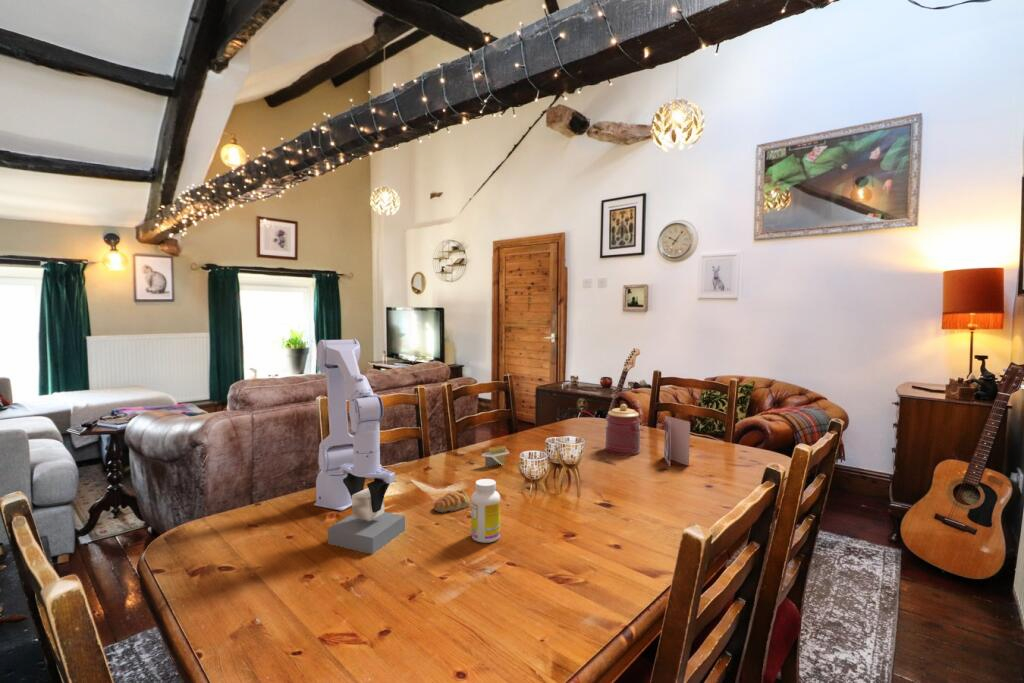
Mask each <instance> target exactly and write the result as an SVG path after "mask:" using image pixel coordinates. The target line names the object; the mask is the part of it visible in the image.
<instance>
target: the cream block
mask: <svg viewBox="0 0 1024 683" xmlns="http://www.w3.org/2000/svg"><path fill="white" fill-rule="evenodd" d="M384 512H385V497H384V498H383V502H382V506H381V510H379V511H377V512H376V513H374V512H373V511H372V505H371V495H370V491H369V489H368V487H367V488H364V490H362V491H360V492H358V493H356V494H353V495H352V506H351V515H352V517H355V518H359V519H363V520H367V521H370V520H372V519H374V518H376V517H378V516H379V515H381V514H383V513H384Z"/></svg>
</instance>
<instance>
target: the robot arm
mask: <svg viewBox="0 0 1024 683" xmlns="http://www.w3.org/2000/svg"><path fill="white" fill-rule="evenodd" d="M316 346H317V347H316V358H317V368H318V371H319V372H321V373H324V375H325V378H326V390H327V392H326V393H327V409H328V410H327V411H328V425H329V426H328V428H329V433H328V436H326V437H325V438H324V439H323V440H322V441H320V443H319V446H318V457H317V458H318V466H319V469H320V472H319V473H318V474H317V476H316V481H315V490H316V491H315V492H316V499H315V500H316V502H315V503H314V506H316V507H321V508H326V509H331V510H337V511H340V512H341V511H344V510H346V509H348V508H350V507H352V495H353V494H356V493H358V492H360V491H362V490H364V489H365V482H366V479H370V480H371V479H372V480H373V481H370V482H368V483H367V484H366V486H367V488H368V489H369V491H370V495H371V505H372V511H373V512H374V513H376V512H377V511H379V510H381V506H382V502H383V498H384V499H385V494H386V493H387V490H388V488H389V486H390V484H392V483H394V482H396V472H393V471H391V470H388V469H387V468H384V467H382V466H383V465H382V464H381V450H380V449H381V448H380V447H381V442H380V441H381V438H380V436H381V435H380V433H381V430H380V424H381V423H380V422H381V421H382V420H383V418H384V414H385V413H384V410H385V408H384V402H383V400H382V399H383V398H382V397H381V395H378V394H377V393H374V391H373V389H372V387H371V384H370V382H369V379H368V378H367V377H366V376H365V375H364V374H361V371H360V367H359V364H358V363H359V360H360V358H361V345H360V342H359V341H358V340H357V338H351V339H320V340H319V341H318V343H317V345H316ZM347 401H348V403H347ZM347 404H349V406H347ZM348 413H349V414H348ZM348 415H349V418H350V419H349V420H350V429H351V431H352V434H350V433H349V423H348V422H349V421H348Z"/></svg>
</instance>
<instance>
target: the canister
mask: <svg viewBox="0 0 1024 683" xmlns="http://www.w3.org/2000/svg"><path fill="white" fill-rule="evenodd" d="M607 414H608V416H607V417H606V418H605V421H606V426H605V427H604V428H605V443H604V447H605V451H606V452H608V453H611V454H614V455H619V456H635V455H638V454H639V453H640V451H641V448H642V447H641V431H642V429H641V426H640V424H641V422H642V420H641V418H639V416H640V414H639V412H637V411H636V410H635V409H632V408H628V405H627V404H625V403H621V404H620V406H619V407H615V408H612V409H611V410H609V411H608V412H607Z"/></svg>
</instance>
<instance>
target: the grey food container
mask: <svg viewBox="0 0 1024 683" xmlns="http://www.w3.org/2000/svg"><path fill="white" fill-rule="evenodd" d="M488 450H489V451H487V452H483V453H481V457H484V459H485V460H484V467H486V468H488V467H487V466H490V467H493V466H492V465H495V466H497V465H496V464H499V465H500V464H501V466H504V465H505V463H506V455H508V454H509V453H510V451H509V449H507V447H506V446H505V445H501V446H500V445H499V446H495V447H489V448H488ZM504 462H505V463H504Z"/></svg>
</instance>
